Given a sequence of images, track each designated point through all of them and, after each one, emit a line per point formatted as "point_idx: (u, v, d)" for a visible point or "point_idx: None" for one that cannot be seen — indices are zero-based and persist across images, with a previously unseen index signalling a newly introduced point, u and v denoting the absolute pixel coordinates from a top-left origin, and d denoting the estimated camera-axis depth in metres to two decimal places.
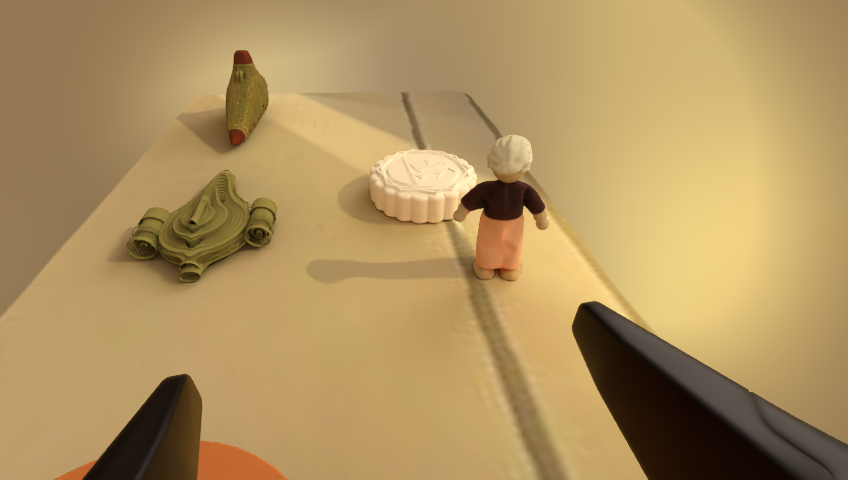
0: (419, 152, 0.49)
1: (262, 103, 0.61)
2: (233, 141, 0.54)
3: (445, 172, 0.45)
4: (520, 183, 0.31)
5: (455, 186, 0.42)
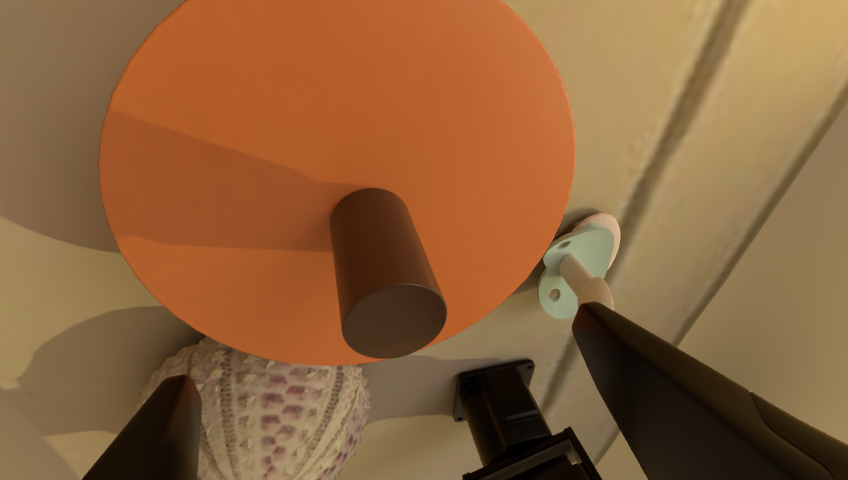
0: None
1: None
2: None
3: None
4: None
5: None
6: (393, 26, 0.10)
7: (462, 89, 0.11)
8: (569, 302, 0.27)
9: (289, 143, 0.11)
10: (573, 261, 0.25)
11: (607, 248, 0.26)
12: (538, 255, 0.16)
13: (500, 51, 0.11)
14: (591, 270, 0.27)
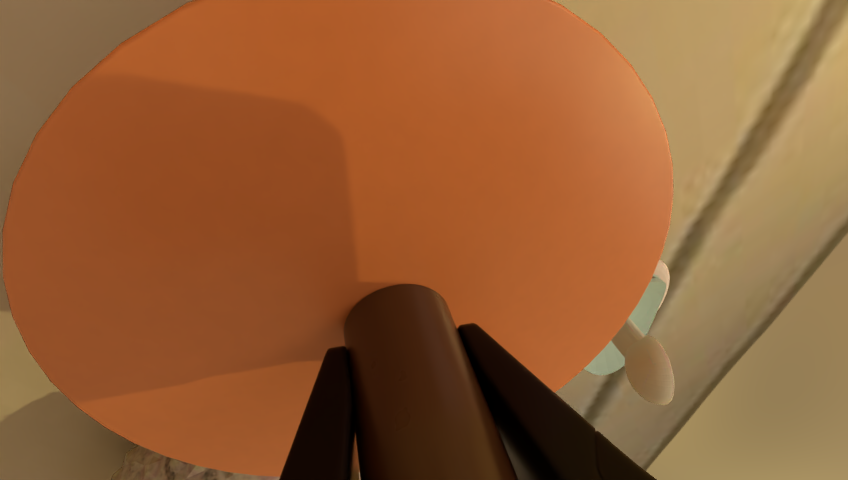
0: None
1: None
2: None
3: None
4: None
5: None
6: (445, 76, 0.07)
7: (534, 157, 0.08)
8: (609, 355, 0.24)
9: (288, 237, 0.08)
10: None
11: (656, 297, 0.22)
12: (604, 342, 0.13)
13: (593, 105, 0.08)
14: (635, 320, 0.23)
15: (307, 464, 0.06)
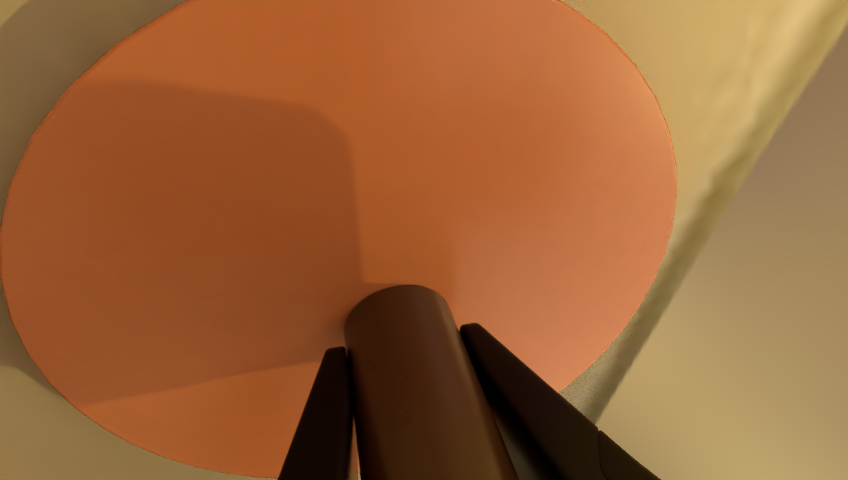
0: None
1: None
2: None
3: None
4: None
5: None
6: (447, 75, 0.07)
7: (537, 157, 0.08)
8: None
9: (288, 238, 0.08)
10: None
11: None
12: (606, 343, 0.13)
13: (596, 105, 0.08)
14: None
15: (305, 464, 0.06)
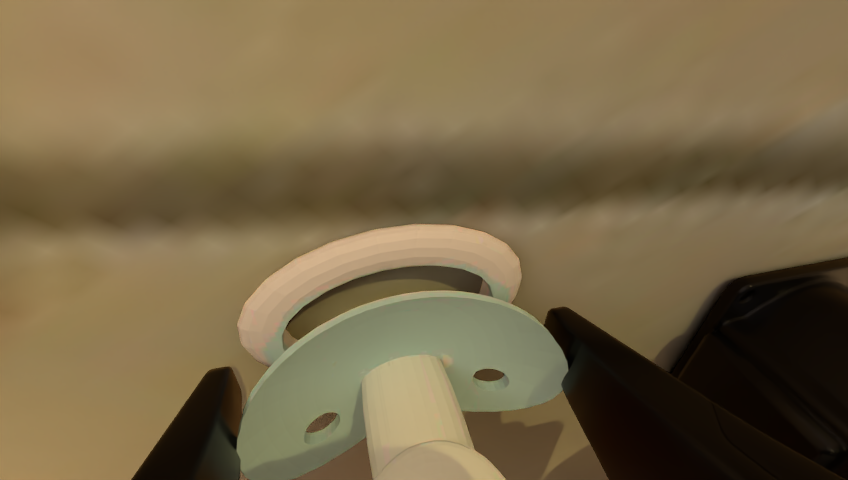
0: None
1: None
2: None
3: None
4: None
5: None
6: None
7: None
8: (524, 359, 0.10)
9: None
10: None
11: (344, 328, 0.08)
12: None
13: None
14: (434, 319, 0.09)
15: None
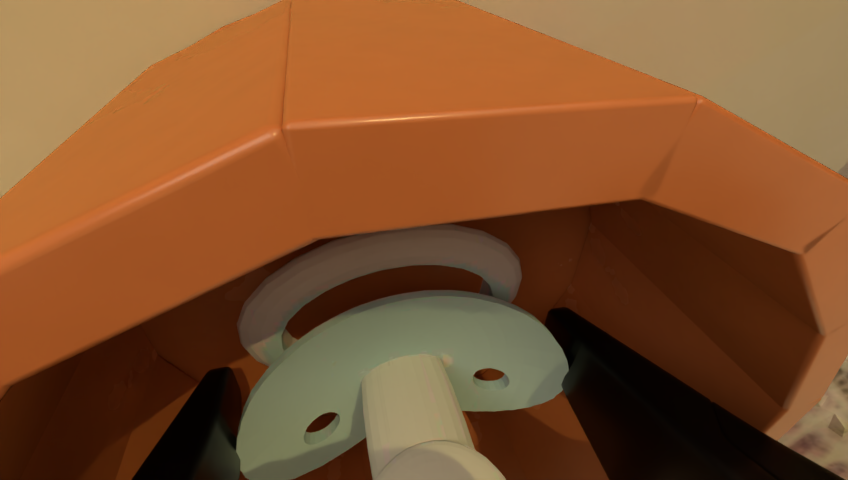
0: None
1: None
2: None
3: None
4: None
5: None
6: None
7: None
8: (524, 359, 0.10)
9: None
10: None
11: (343, 328, 0.08)
12: None
13: None
14: (434, 318, 0.09)
15: None
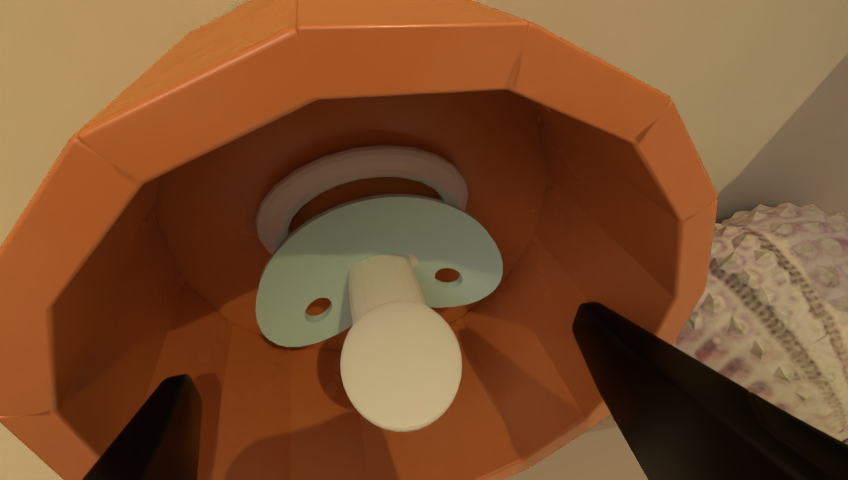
0: None
1: None
2: None
3: None
4: None
5: None
6: None
7: None
8: (471, 256, 0.13)
9: None
10: None
11: (332, 220, 0.11)
12: None
13: None
14: (400, 219, 0.12)
15: None
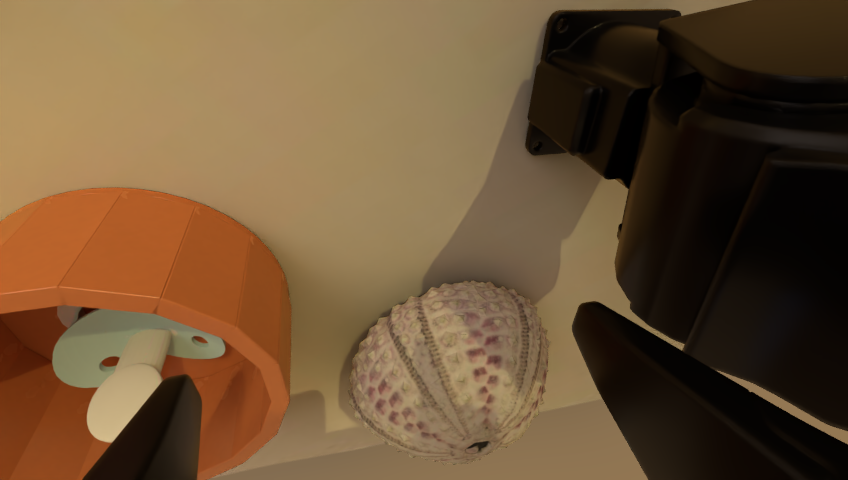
0: None
1: None
2: None
3: None
4: None
5: None
6: None
7: None
8: None
9: None
10: None
11: (98, 315, 0.19)
12: None
13: None
14: None
15: None
